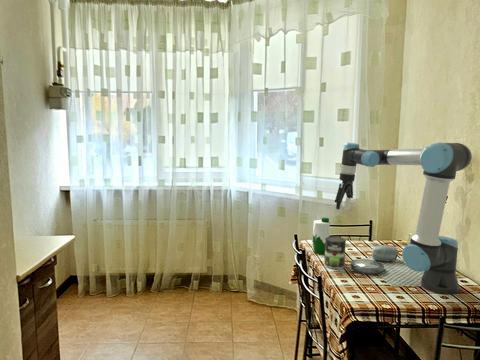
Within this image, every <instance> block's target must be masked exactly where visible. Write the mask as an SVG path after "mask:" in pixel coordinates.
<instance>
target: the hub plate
mask: <svg viewBox="0 0 480 360" xmlns="http://www.w3.org/2000/svg"><path fill="white" fill-rule="evenodd" d="M350 270H351V271H353V272H356V274H361V275H367V276H378V275H382V274H383V273H384V271H385V265H384V264H383V263H381V262H380V261H378V260H374V259H373V260H371V259H364V258H363V259H362V258H361V259H353V260H352V261H351V262H350Z"/></svg>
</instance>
